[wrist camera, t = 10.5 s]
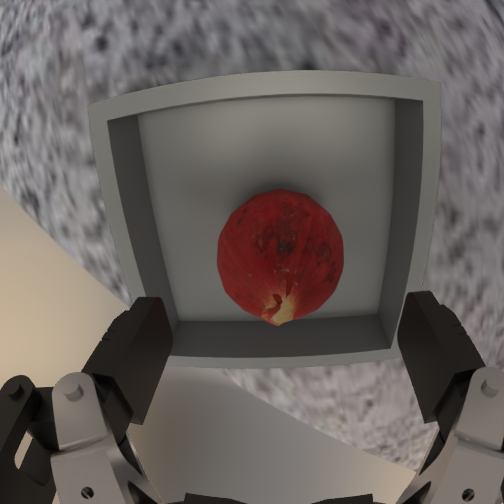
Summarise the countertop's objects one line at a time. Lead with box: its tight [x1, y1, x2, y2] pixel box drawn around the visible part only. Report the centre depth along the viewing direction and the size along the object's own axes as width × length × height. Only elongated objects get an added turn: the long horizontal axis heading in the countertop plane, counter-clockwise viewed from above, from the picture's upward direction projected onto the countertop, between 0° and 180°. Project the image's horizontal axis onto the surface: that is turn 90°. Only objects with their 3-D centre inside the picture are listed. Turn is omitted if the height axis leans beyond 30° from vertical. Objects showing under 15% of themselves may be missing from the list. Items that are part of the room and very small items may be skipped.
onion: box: [217, 189, 344, 326], centre depth 14 cm, size 6×6×8 cm
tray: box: [87, 70, 442, 369], centre depth 16 cm, size 16×16×4 cm
